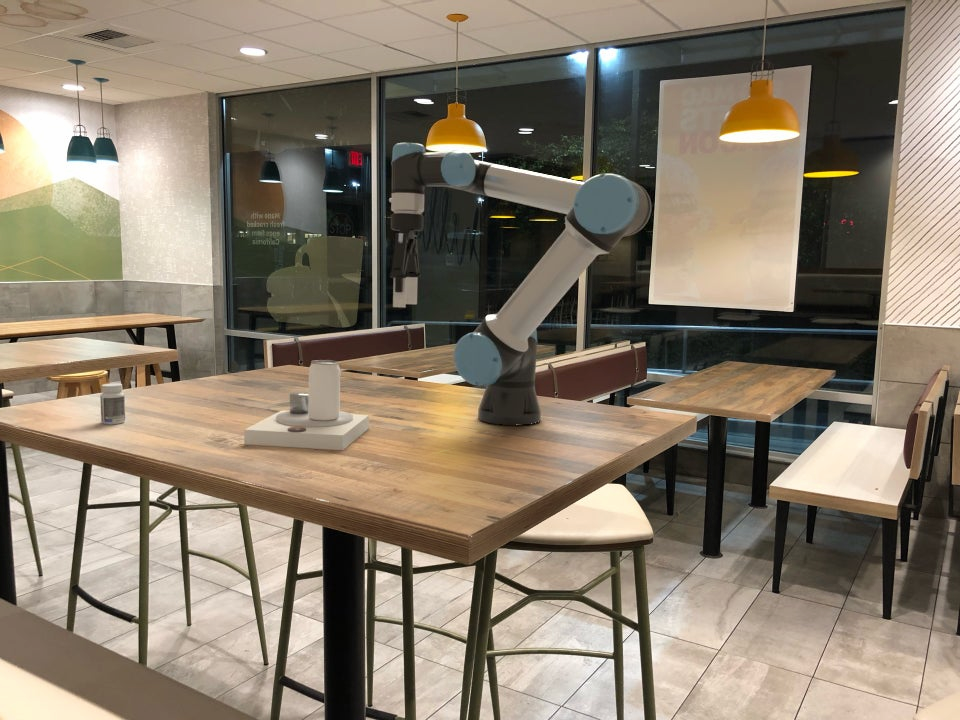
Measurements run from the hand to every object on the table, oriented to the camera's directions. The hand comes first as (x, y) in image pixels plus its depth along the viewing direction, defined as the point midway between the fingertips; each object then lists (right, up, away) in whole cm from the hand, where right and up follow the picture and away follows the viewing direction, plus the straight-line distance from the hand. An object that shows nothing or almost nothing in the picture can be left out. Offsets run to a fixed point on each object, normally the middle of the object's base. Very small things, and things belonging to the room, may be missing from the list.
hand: (405, 305), depth 174 cm
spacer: (-22, -24, -11) cm, 34 cm away
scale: (-18, -29, -17) cm, 38 cm away
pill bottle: (-63, -27, -11) cm, 69 cm away
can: (-15, -25, -17) cm, 34 cm away
